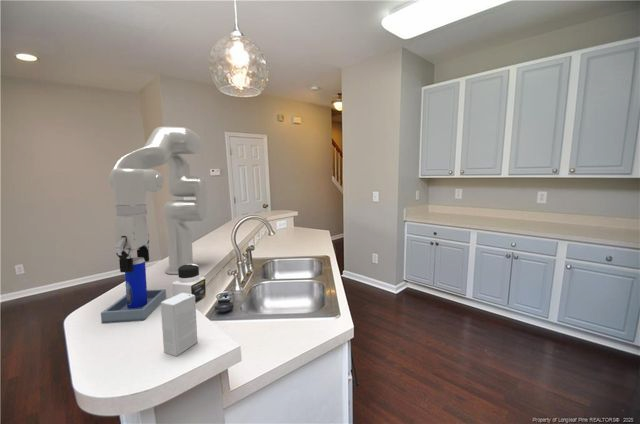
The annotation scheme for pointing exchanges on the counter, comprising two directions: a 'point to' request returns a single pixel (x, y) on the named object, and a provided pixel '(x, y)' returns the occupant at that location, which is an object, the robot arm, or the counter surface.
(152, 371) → the counter surface
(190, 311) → the skincare box
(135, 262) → the beverage can
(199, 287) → the medicine bottle
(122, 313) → the tray
